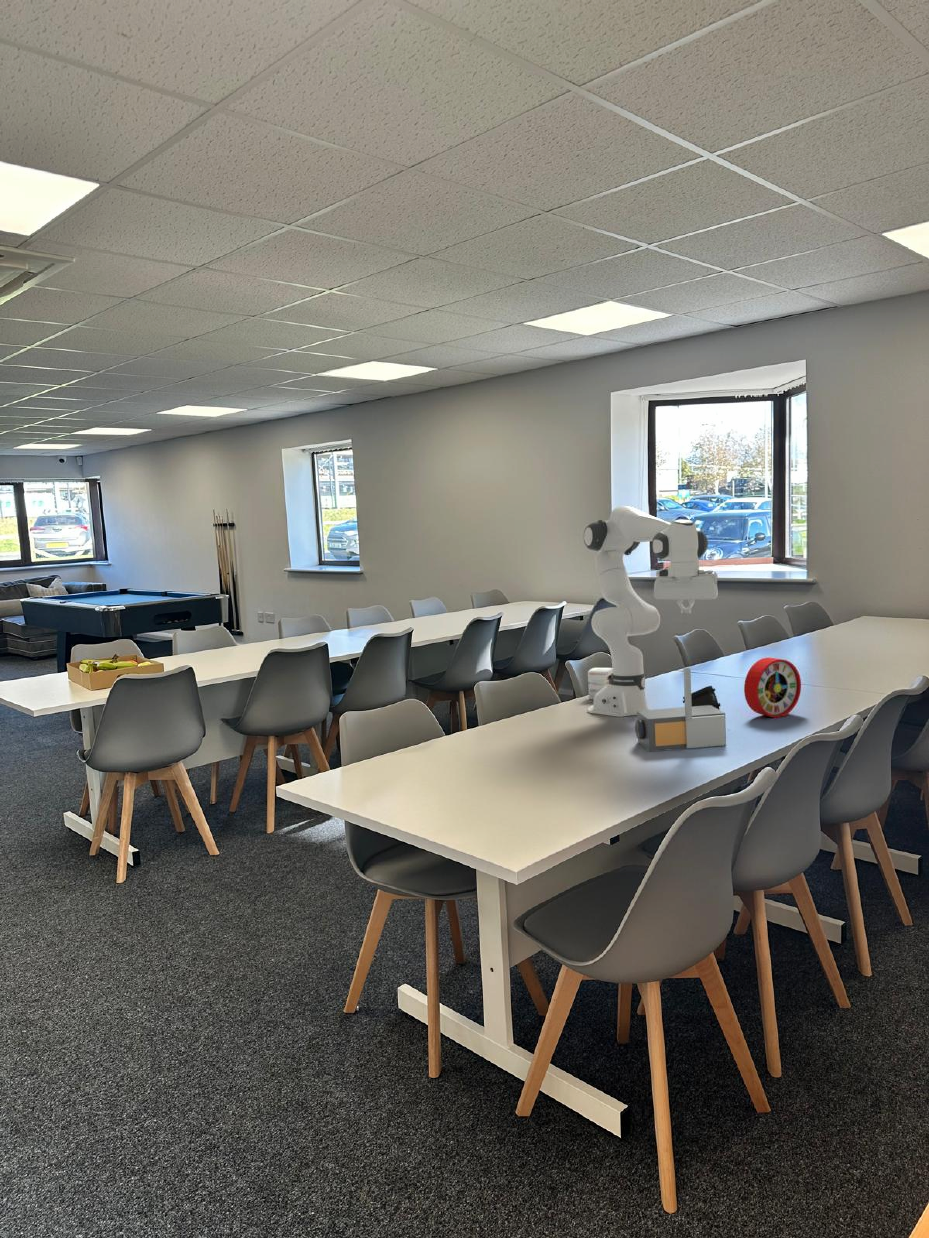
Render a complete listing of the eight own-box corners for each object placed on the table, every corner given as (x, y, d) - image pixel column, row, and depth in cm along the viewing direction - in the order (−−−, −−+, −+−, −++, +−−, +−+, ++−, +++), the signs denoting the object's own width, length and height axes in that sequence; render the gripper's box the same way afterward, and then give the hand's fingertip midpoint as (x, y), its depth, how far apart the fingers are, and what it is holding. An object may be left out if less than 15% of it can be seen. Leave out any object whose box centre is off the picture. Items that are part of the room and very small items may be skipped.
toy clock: (757, 721, 286) (755, 663, 284) (744, 718, 292) (743, 661, 289) (801, 713, 294) (800, 656, 292) (788, 710, 300) (787, 654, 297)
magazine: (724, 730, 270) (706, 686, 274) (694, 742, 280) (677, 699, 284) (731, 728, 273) (713, 684, 276) (701, 739, 283) (684, 697, 286)
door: (688, 748, 256) (685, 668, 254) (686, 747, 258) (683, 667, 256) (726, 745, 257) (724, 665, 255) (724, 744, 259) (722, 664, 257)
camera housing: (644, 752, 257) (643, 719, 256) (633, 742, 269) (631, 711, 268) (726, 745, 259) (725, 713, 258) (711, 735, 271) (710, 705, 270)
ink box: (615, 695, 342) (613, 667, 341) (609, 700, 334) (608, 671, 333) (594, 695, 346) (593, 667, 344) (588, 699, 338) (587, 670, 337)
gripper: (720, 569, 269) (721, 612, 270) (658, 570, 280) (659, 612, 282) (714, 570, 264) (715, 614, 265) (651, 572, 275) (652, 614, 276)
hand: (686, 613), depth 274 cm, fingers closed
